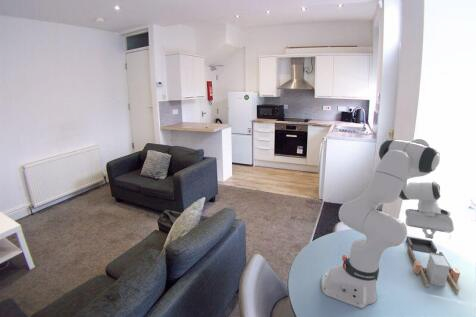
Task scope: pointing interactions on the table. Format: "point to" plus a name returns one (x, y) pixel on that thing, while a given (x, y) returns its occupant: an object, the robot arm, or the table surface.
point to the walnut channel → (415, 258)
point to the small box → (437, 270)
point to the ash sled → (449, 277)
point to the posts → (454, 272)
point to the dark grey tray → (421, 245)
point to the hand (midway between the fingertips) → (429, 238)
